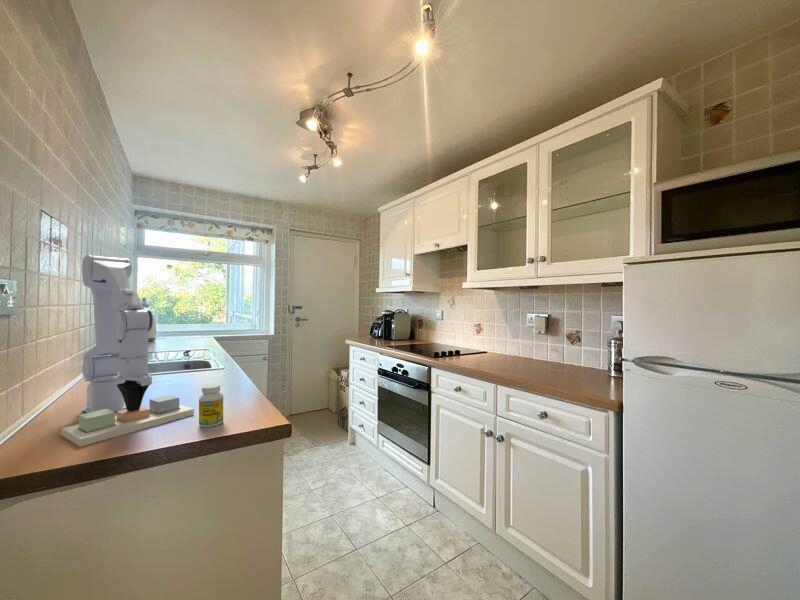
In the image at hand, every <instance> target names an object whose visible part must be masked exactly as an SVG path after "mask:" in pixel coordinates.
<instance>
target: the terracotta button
mask: <svg viewBox="0 0 800 600" xmlns="http://www.w3.org/2000/svg"><path fill="white" fill-rule="evenodd" d="M148 408H149V407H146V406H145V407H144V406H142V405H141V406H140V409H139V410H136V411H131V412H129V411H127V409H124V410H120V411H116V415H117V420H118V421H120V422H123V423H127V422H131V421H135V420H139V419H143V418H147V417H150V409H148Z"/></svg>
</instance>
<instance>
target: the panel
mask: <svg viewBox="0 0 800 600" xmlns="http://www.w3.org/2000/svg"><path fill="white" fill-rule="evenodd" d="M147 408H148V409H149V407H147ZM193 414H194V415H195V408H192V407H189V406H186V405H182V404H180V403H179V409H175V410H171V411H169V412H165V413H164V412H163V413H161V414H160V413H159V414H158V413H155V412H152V411H150V417H147V418H143V419H139V420H135V421H131V422H127V423H123V422H120V421H118V420H117V414H115V425H113V426H109V427H105V428H101V429H97V430H93V431H89V432H86V431H84V430H82V429H80V428H79V423H78V424H74V425H69V426H65V427H61V428H60V430H61V431H60V432H61V436H62V437H64V438H65V439H66V440H68V441H70V442H72V443H74V444H75V445H77V446H79V447H80V448H81V447H84V446H88V445H91V444H95V443H98V442H102V441H105V440H109V439H112V438H116V437H120V436H123V435H127V434H131V433H135V432H138V431H140V430H144V429H147V428H151V427H155V426H158V425H162V424H166V423H168V421H170V422H172V420H173V421H175V419H177V420H180V419H182V417H184V418H187V417H190V416H189V415H191V416H194V415H193ZM186 416H187V417H186ZM179 418H180V419H179ZM165 422H166V423H165Z"/></svg>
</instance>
